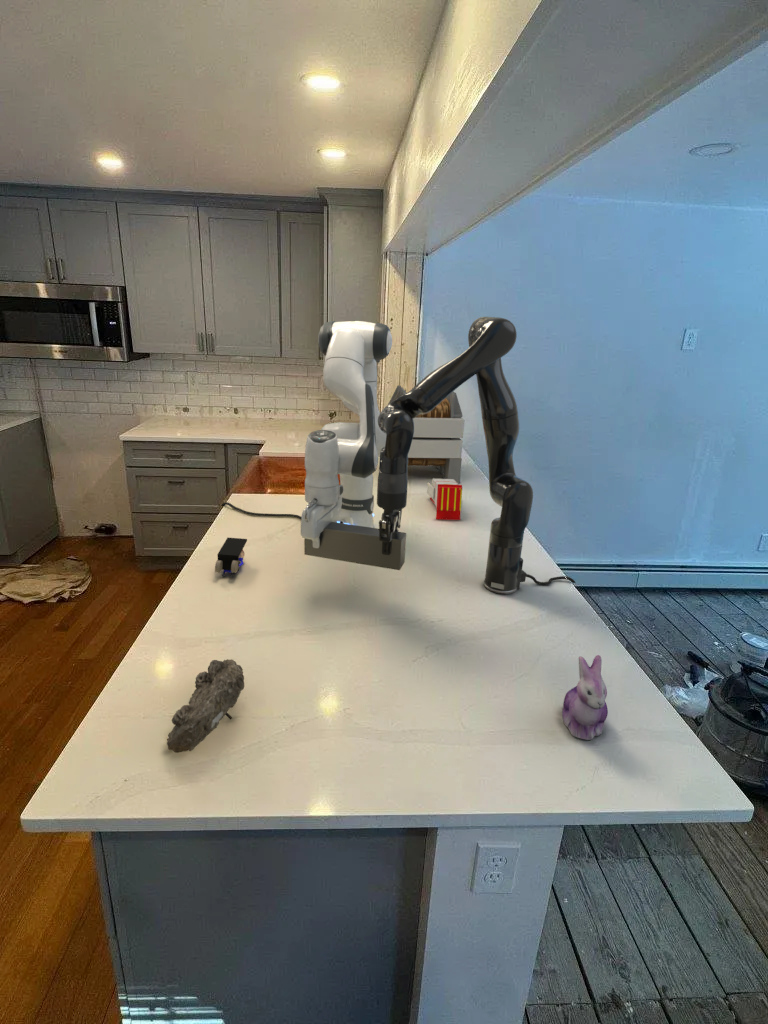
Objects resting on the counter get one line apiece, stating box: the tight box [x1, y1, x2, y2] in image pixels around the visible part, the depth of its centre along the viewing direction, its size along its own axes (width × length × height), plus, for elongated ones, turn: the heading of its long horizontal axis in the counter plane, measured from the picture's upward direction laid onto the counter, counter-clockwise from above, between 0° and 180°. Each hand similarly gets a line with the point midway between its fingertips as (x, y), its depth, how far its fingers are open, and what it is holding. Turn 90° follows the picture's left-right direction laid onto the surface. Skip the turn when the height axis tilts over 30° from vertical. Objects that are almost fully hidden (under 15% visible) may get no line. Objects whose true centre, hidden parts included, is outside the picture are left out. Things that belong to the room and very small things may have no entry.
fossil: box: [166, 658, 245, 754], centre depth 106 cm, size 22×10×15 cm
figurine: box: [561, 654, 609, 741], centre depth 108 cm, size 9×10×15 cm
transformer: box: [387, 384, 465, 484], centre depth 268 cm, size 34×33×41 cm
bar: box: [303, 522, 407, 571], centre depth 150 cm, size 26×5×8 cm, turn 74°
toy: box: [426, 478, 463, 521], centre depth 226 cm, size 12×13×30 cm
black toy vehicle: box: [214, 537, 248, 578], centre depth 166 cm, size 7×8×15 cm
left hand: (321, 542), depth 153 cm, fingers closed on bar, 5 cm apart
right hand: (389, 549), depth 148 cm, fingers closed on bar, 5 cm apart
